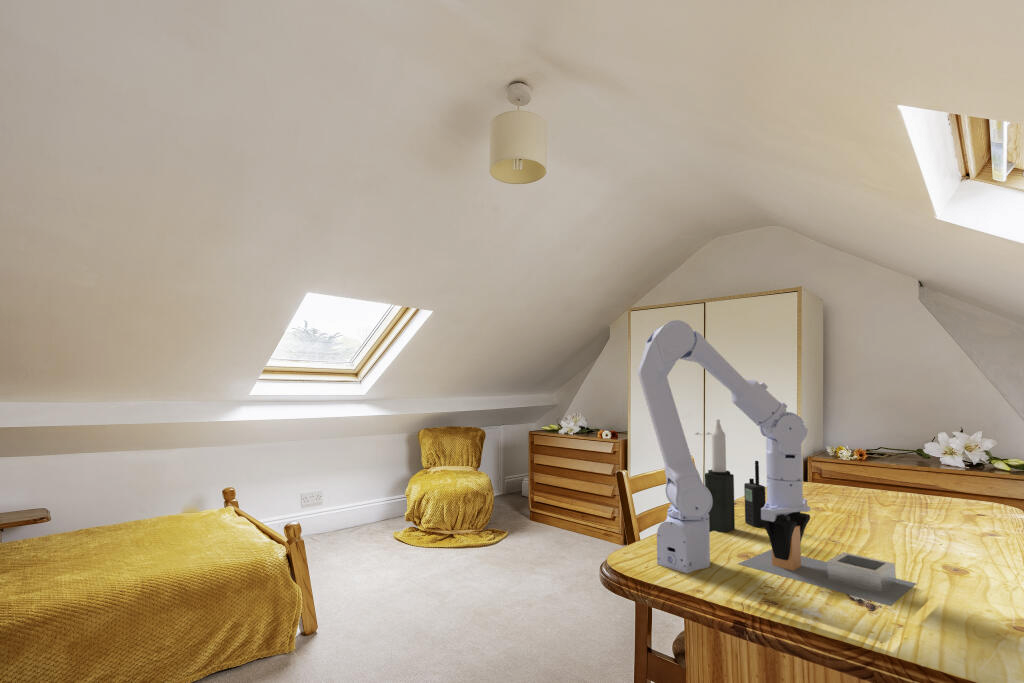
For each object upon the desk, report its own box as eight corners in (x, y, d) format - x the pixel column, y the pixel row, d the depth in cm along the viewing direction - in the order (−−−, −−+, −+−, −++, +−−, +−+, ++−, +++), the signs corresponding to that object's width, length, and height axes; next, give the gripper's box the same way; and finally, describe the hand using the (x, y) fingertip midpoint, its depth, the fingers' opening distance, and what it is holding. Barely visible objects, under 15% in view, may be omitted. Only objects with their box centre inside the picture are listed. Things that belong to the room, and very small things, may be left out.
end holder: (881, 593, 82) (880, 573, 82) (827, 579, 88) (827, 560, 88) (895, 582, 87) (895, 563, 87) (844, 569, 92) (843, 552, 93)
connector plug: (792, 570, 92) (791, 519, 92) (772, 565, 94) (770, 515, 95) (801, 566, 94) (799, 516, 95) (780, 561, 97) (779, 512, 97)
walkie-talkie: (743, 522, 127) (742, 458, 129) (757, 522, 128) (755, 458, 129) (755, 527, 123) (753, 461, 124) (769, 527, 123) (767, 461, 124)
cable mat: (890, 611, 77) (890, 605, 77) (737, 568, 95) (737, 563, 95) (916, 588, 86) (916, 583, 86) (772, 553, 104) (772, 548, 104)
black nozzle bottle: (725, 536, 115) (722, 420, 117) (703, 531, 119) (701, 418, 121) (736, 532, 118) (734, 419, 120) (715, 527, 122) (713, 418, 124)
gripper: (790, 486, 88) (792, 571, 87) (824, 477, 97) (826, 553, 96) (748, 480, 93) (750, 560, 92) (784, 472, 102) (786, 544, 101)
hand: (786, 556), depth 94 cm, fingers closed on connector plug, 3 cm apart
